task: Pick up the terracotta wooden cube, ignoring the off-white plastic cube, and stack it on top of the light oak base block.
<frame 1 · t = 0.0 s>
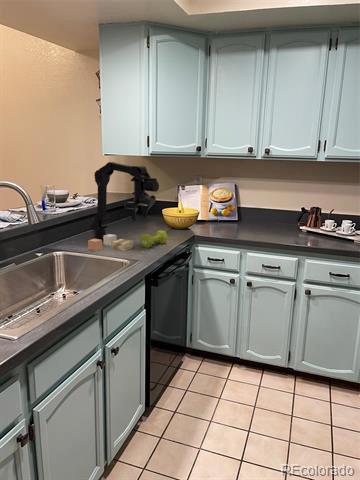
hand: (139, 219, 204), 15 cm above the worktop, tool pointing down, fingers open, 9 cm apart
offwhite cube: (110, 244, 211), on the worktop
dumbbell: (154, 245, 212), on the worktop
oak base block: (122, 248, 204), on the worktop
terracotta cube: (95, 249, 200), on the worktop
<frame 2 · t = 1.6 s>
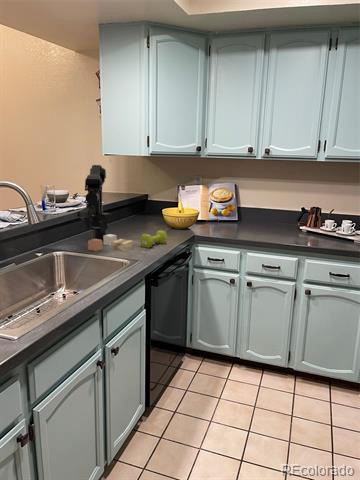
hand: (94, 231, 198), 9 cm above the worktop, tool pointing down, fingers open, 9 cm apart
nothing on the worktop moved.
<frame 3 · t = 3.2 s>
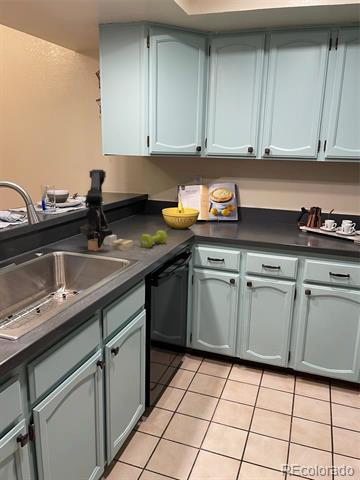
hand: (95, 247, 200), 1 cm above the worktop, tool pointing down, fingers closed on terracotta cube, 5 cm apart
terracotta cube: (95, 249, 200), on the worktop, touching gripper
everything else where it was.
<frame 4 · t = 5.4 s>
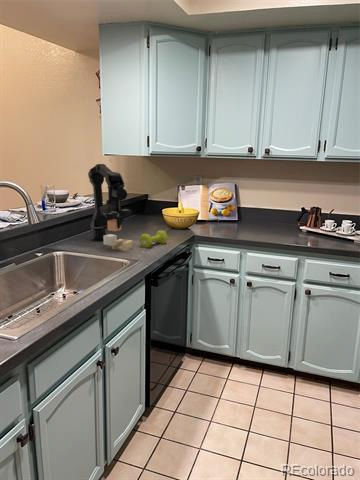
hand: (114, 227, 200), 11 cm above the worktop, tool pointing down, fingers closed on terracotta cube, 5 cm apart
terracotta cube: (114, 229, 200), point 10 cm above the worktop, touching gripper
everything else where it was.
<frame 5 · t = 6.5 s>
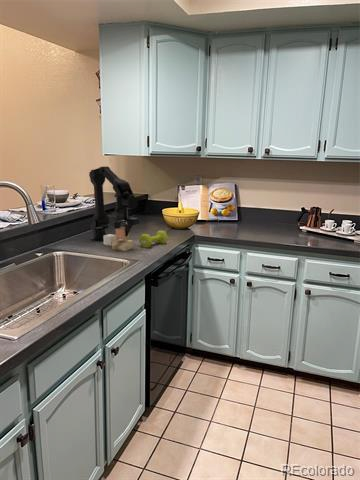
hand: (122, 235, 202), 7 cm above the worktop, tool pointing down, fingers closed on terracotta cube, 5 cm apart
terracotta cube: (122, 237, 202), point 6 cm above the worktop, touching gripper
everything else where it was.
when the fingers open (6 cm above the worktop, at t = 7.3 s): terracotta cube drops 2 cm, point 4 cm above the worktop.
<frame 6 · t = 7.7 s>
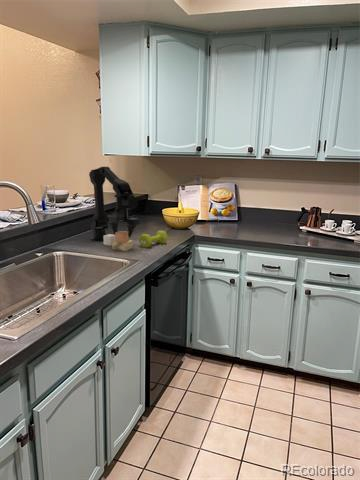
hand: (122, 236, 202), 6 cm above the worktop, tool pointing down, fingers open, 9 cm apart
terracotta cube: (122, 241, 203), point 4 cm above the worktop
everything else where it was.
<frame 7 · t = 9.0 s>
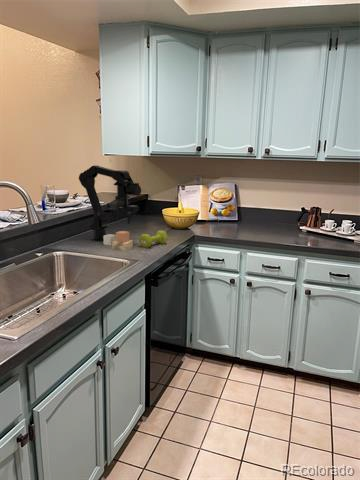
hand: (122, 222, 211), 12 cm above the worktop, tool pointing down, fingers open, 9 cm apart
nothing on the worktop moved.
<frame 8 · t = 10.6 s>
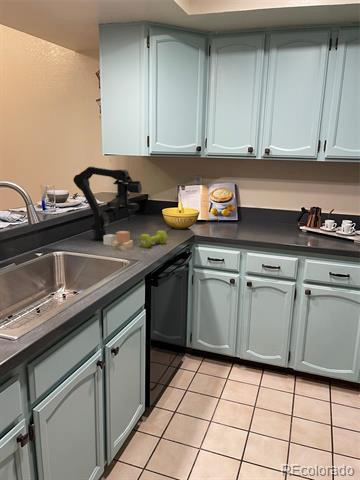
hand: (122, 220, 215), 12 cm above the worktop, tool pointing down, fingers open, 9 cm apart
oak base block: (123, 248, 204), on the worktop, touching terracotta cube
terracotta cube: (123, 241, 203), point 4 cm above the worktop, touching oak base block
everything else where it was.
at the end: terracotta cube 0.1 cm off-centre on the oak base block, point 4.0 cm above the oak base block's base; terracotta cube tilted 0°; the gripper is holding nothing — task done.
